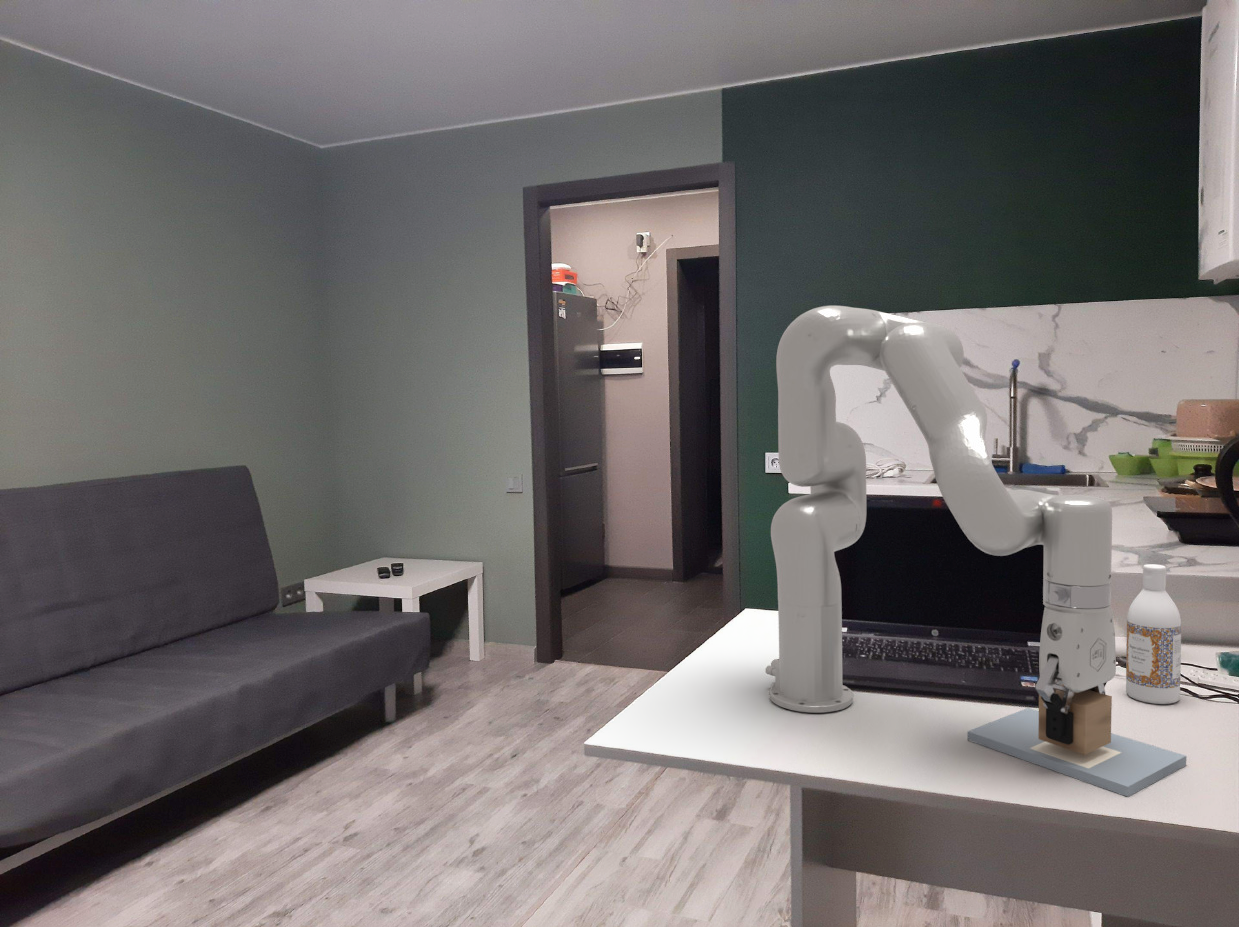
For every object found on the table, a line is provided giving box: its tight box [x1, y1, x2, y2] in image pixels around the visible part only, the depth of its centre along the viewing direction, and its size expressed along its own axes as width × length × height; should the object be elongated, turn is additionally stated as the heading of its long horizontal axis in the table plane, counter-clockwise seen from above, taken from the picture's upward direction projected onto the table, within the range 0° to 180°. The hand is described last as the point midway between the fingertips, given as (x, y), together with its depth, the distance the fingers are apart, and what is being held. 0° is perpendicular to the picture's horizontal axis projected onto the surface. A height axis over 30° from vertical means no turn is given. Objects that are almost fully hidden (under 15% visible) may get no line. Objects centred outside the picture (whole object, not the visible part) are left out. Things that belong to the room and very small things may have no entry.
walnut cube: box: [1038, 684, 1113, 755], centre depth 112 cm, size 6×6×6 cm
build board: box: [967, 707, 1187, 798], centre depth 115 cm, size 21×14×1 cm, turn 34°
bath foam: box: [1125, 563, 1182, 705], centre depth 132 cm, size 7×7×20 cm
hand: (1074, 732), depth 112 cm, fingers closed on walnut cube, 6 cm apart
